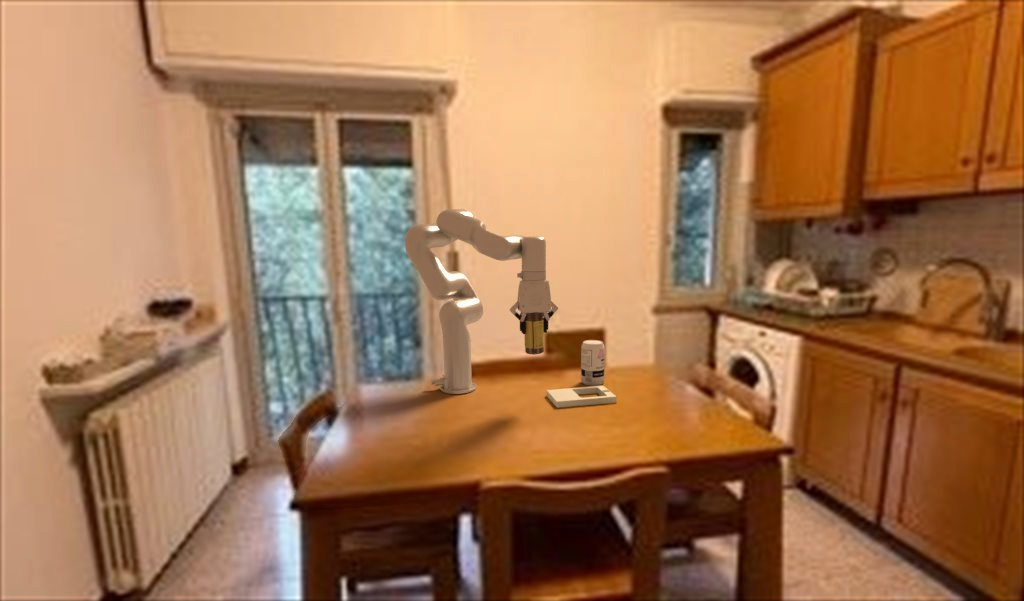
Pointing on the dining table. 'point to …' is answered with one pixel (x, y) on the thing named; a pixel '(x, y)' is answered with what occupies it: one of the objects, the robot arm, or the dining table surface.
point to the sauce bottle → (534, 333)
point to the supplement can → (592, 362)
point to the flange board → (571, 397)
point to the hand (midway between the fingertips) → (534, 332)
